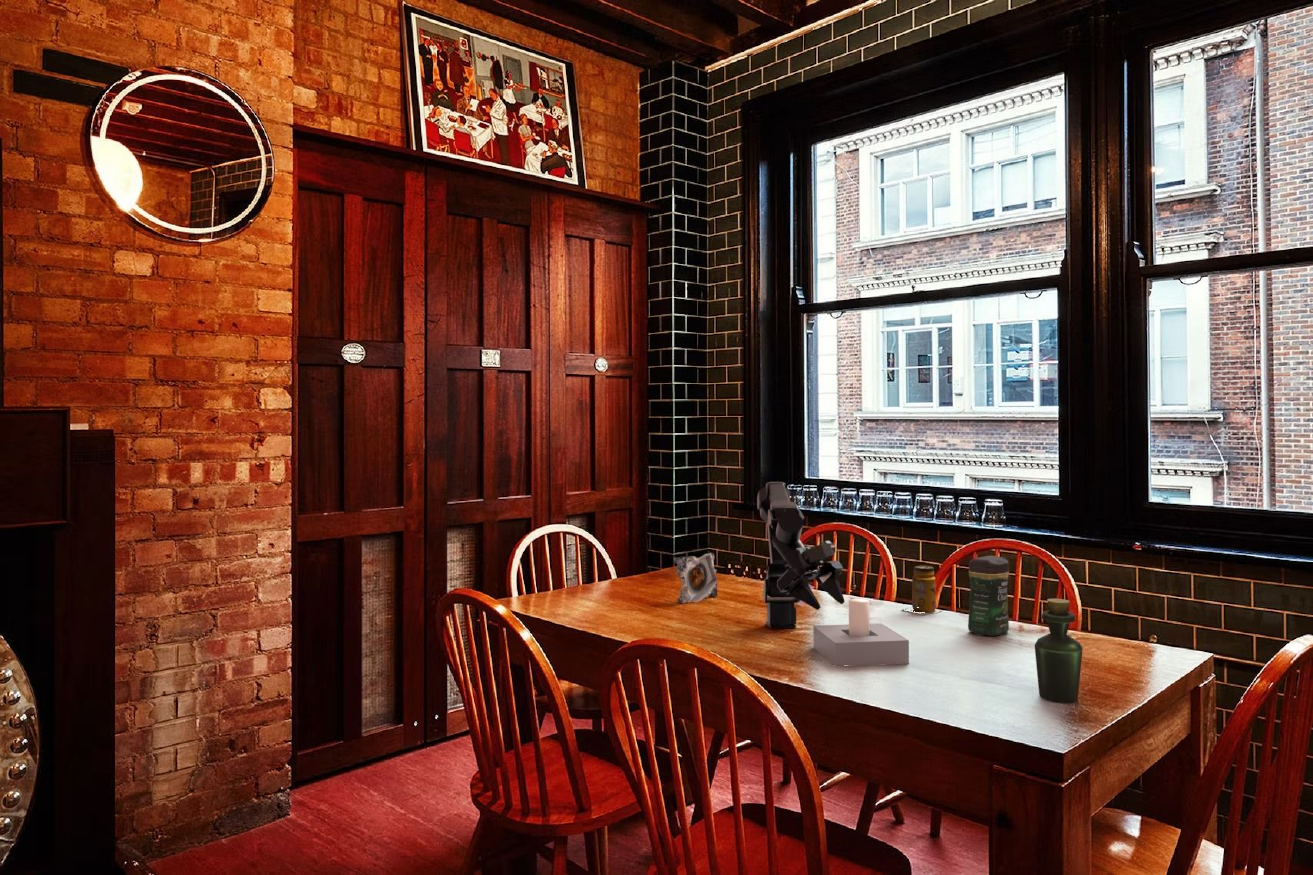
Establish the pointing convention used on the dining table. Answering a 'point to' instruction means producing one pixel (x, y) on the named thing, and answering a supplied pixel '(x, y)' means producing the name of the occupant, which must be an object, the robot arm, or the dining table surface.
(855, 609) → the pink cylinder peg
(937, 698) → the dining table surface
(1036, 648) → the potion bottle
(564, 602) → the dining table surface
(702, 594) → the ornate square frame
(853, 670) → the dining table surface
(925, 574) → the condiment
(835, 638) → the well block
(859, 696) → the dining table surface
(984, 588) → the coffee jar
